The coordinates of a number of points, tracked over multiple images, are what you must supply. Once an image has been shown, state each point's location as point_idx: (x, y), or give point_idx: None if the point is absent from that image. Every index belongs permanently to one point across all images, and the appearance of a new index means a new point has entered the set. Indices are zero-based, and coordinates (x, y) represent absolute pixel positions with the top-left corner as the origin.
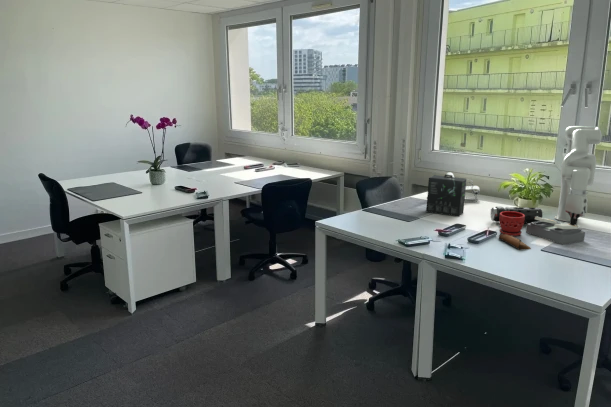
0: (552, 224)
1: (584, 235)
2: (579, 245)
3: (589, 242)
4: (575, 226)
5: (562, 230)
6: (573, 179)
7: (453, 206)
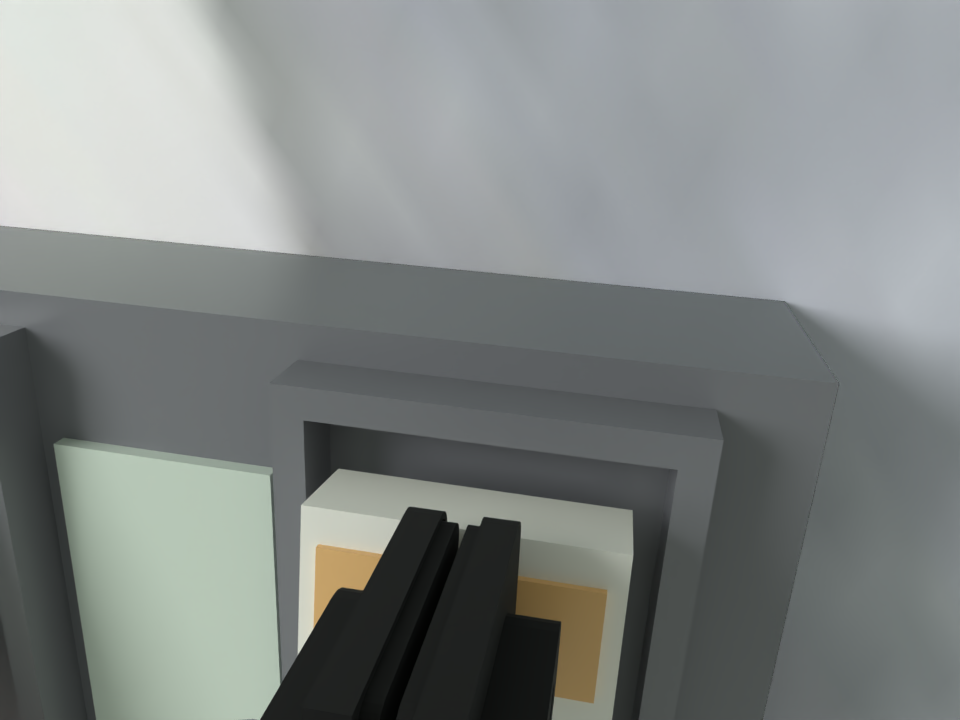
0: (30, 632)
1: (812, 353)
2: (895, 654)
3: (926, 281)
4: (615, 680)
5: None
6: None
7: None
